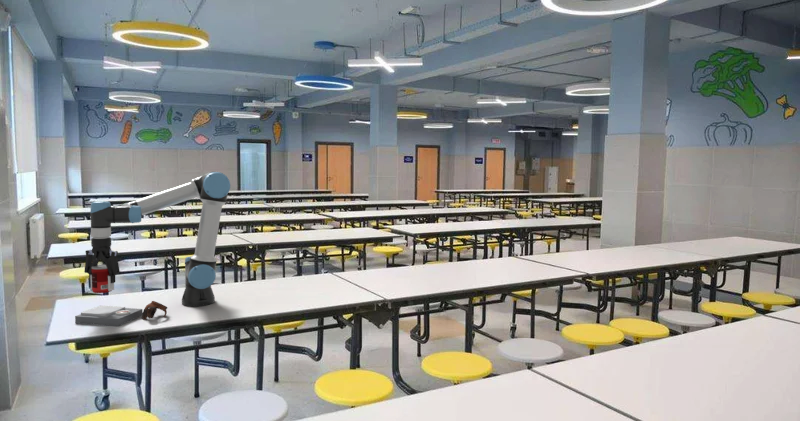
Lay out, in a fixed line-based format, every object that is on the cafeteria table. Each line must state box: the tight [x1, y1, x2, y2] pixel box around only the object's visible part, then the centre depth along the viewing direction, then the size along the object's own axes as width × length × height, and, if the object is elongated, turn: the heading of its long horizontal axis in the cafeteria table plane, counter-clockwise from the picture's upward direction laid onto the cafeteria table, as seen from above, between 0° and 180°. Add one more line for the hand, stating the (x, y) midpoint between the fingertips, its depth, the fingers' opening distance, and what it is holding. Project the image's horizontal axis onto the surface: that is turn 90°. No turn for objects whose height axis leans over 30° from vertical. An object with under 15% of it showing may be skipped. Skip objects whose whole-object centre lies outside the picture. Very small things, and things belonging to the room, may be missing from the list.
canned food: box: [91, 264, 111, 294], centre depth 231 cm, size 8×8×11 cm
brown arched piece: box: [141, 300, 168, 321], centre depth 235 cm, size 12×10×8 cm
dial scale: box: [74, 305, 143, 327], centre depth 232 cm, size 20×16×4 cm
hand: (102, 289), depth 231 cm, fingers closed on canned food, 8 cm apart
